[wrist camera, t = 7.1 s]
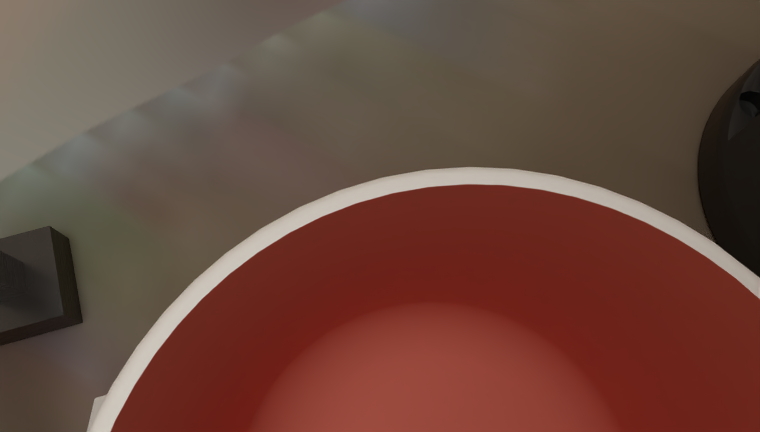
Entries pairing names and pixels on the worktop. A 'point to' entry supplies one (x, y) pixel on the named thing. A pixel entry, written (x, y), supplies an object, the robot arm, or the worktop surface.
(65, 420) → the worktop surface
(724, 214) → the robot arm
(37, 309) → the jointed metal bar
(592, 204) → the cup
